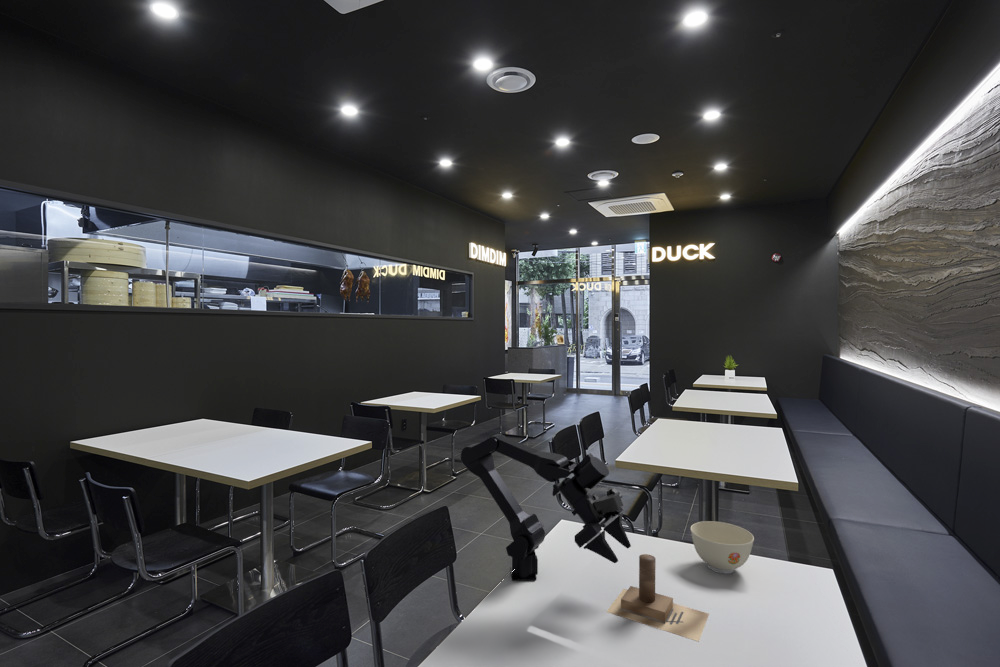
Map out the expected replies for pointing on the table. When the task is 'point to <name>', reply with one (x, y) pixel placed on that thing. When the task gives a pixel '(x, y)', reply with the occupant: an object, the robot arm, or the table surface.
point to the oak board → (669, 619)
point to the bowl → (722, 545)
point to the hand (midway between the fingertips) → (623, 554)
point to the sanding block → (647, 594)
